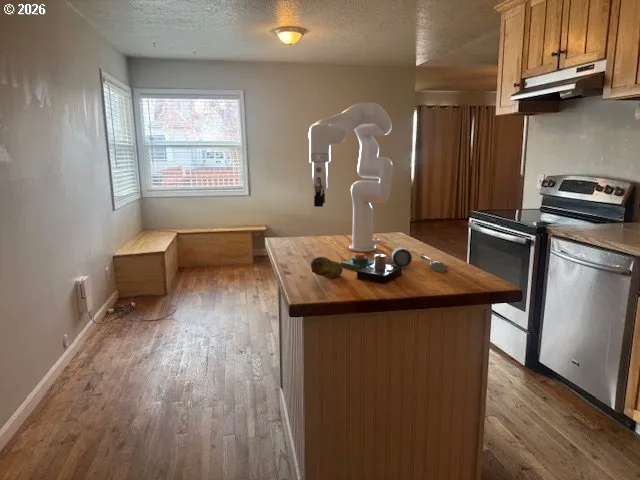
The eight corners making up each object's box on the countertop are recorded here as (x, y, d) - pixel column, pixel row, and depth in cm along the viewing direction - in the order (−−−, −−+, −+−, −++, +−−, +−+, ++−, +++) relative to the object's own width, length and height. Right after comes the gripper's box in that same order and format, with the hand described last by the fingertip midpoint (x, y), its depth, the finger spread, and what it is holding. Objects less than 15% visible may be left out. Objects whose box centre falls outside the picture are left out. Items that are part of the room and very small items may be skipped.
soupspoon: (432, 273, 166) (449, 274, 167) (433, 265, 166) (450, 265, 166) (415, 257, 188) (430, 257, 188) (416, 249, 187) (431, 250, 187)
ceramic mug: (409, 263, 179) (409, 244, 177) (412, 268, 170) (412, 249, 169) (382, 263, 179) (383, 245, 178) (384, 268, 171) (384, 249, 170)
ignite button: (359, 256, 177) (359, 252, 177) (366, 258, 174) (366, 253, 174) (353, 258, 174) (353, 253, 174) (360, 259, 172) (360, 255, 172)
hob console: (375, 270, 169) (375, 262, 168) (401, 274, 162) (402, 266, 162) (356, 278, 157) (357, 270, 157) (384, 284, 151) (384, 275, 151)
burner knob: (377, 266, 162) (378, 252, 161) (387, 268, 160) (387, 254, 159) (372, 269, 159) (372, 254, 158) (382, 270, 157) (382, 256, 155)
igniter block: (359, 260, 183) (360, 252, 182) (379, 265, 176) (379, 256, 175) (340, 266, 174) (340, 257, 174) (359, 271, 167) (359, 262, 167)
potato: (348, 279, 157) (348, 257, 156) (313, 282, 153) (313, 260, 152) (340, 272, 165) (340, 252, 163) (307, 275, 161) (307, 254, 160)
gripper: (328, 159, 153) (328, 207, 156) (331, 158, 170) (330, 202, 173) (307, 159, 154) (307, 207, 157) (311, 158, 170) (312, 202, 174)
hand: (319, 204), depth 165 cm, fingers open, 9 cm apart
